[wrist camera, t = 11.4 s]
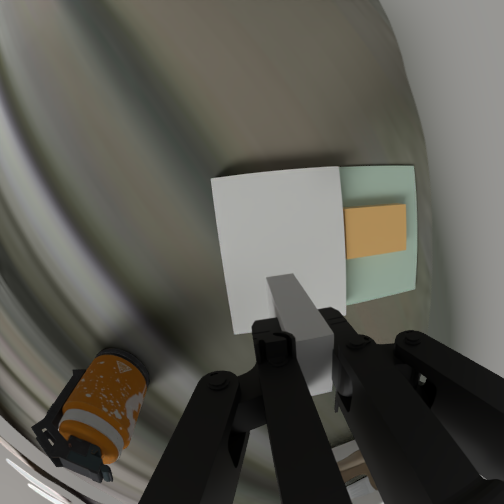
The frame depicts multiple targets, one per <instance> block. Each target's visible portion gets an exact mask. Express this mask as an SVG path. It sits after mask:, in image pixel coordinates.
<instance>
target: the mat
mask: <svg viewBox="0 0 504 504" xmlns="http://www.w3.org/2000/svg"><path fill="white" fill-rule="evenodd" d="M339 174H340V183H341V194H342V206H343V207H353V206H366V205H378V204H392V203H400V204H406V250H403V251H397V252H391V253H385V254H379V255H372V256H366V257H360V258H353V259H346V305H350V304H355V303H360V302H364V301H369V300H373V299H377V298H381V297H386V296H390V295H394V294H398V293H402V292H406V291H409V290H413V289H415V282H416V265H417V202H416V185H415V173H414V166H355V167H339Z"/></svg>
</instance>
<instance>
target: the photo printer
mask: <svg viewBox="0 0 504 504" xmlns="http://www.w3.org/2000/svg"><path fill="white" fill-rule="evenodd" d="M346 488H347V491H348V493H349V496H350V499H352V498H357V497H361V496H364V495H367V494H370V493H372V492H374V491H376V490H375V489H374V488H373V487H372V486H371V484H370V482H369V478H368V476H367V477H365V478H363V479H361V480H359V481H357V482H355V483H353V484H351V485H349V486H347V487H346Z"/></svg>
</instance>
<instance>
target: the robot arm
mask: <svg viewBox="0 0 504 504" xmlns="http://www.w3.org/2000/svg"><path fill="white" fill-rule="evenodd" d="M266 284H267V293H268V302H269V311H270V318H268V319H262V320H255V321H254V323H253V325H252V326H251V328H252V335H253V342H254V349H255V355H256V364H255V366H254V367H253V369H252V370H250V371H249V372H247V373H245V374H243V375H240V376H236V375H235V374H234V373H232V372H229V371H214V372H211V373H208V374H207V375H205V376H203V377H202V378H201V379H200V381H199V382H198V384H197V386H196V388H195V390H194V392H193V394H192V396H191V398H190V400H189V403H188V405H187V407H186V409H185V411H184V413H183V415H182V417H181V419H180V421H179V423H178V425H177V427H176V429H175V431H174V433H173V435H172V437H171V439H170V441H169V443H168V445H167V447H166V449H165V451H164V453H163V455H162V457H161V459H160V461H159V463H158V465H157V467H156V469H155V471H154V473H153V475H152V477H151V479H150V481H149V483H148V485H147V487H146V489H145V491H144V493H143V495H142V497H141V499H140V501H139V503H138V504H233V500H234V496H235V492H236V488H237V484H238V480H239V476H240V472H241V468H242V464H243V460H244V456H245V452H246V447H247V443H248V439H249V434H250V430H252V429H255V428H257V427H260V426H262V425H265V424H267V428H268V434H269V439H270V445H271V451H272V456H273V462H274V467H275V473H276V478H277V483H278V489H279V494H280V499H281V504H352V501H351V499H350V496H349V493H348V491H347V488H346V485H345V483H344V480H343V478H342V475H341V472H340V470H339V467H338V464H337V462H336V459H335V457H334V454H333V451H332V449H331V446H330V443H329V441H328V438H327V436H326V433H325V430H324V428H323V425H322V423H321V420H320V417H319V415H318V412H317V409H316V407H315V404H314V402H313V399H312V396H313V395H318V394H322V393H326V392H330V391H332V381H333V383H334V385H335V387H336V397H335V408H334V409H335V413H336V412H338V406H339V407H340V409H341V411H342V413H343V415H344V417H345V420H346V422H347V424H348V426H349V428H350V430H351V432H352V435H353V437H354V439H355V441H356V443H357V445H358V447H359V450H360V452H361V454H362V456H363V458H364V460H365V463H366V465H367V467H368V469H369V471H370V474H371V476H372V478H373V480H374V482H375V485H376V487H377V489H378V491H379V493H380V496H381V498H382V500H383V502H384V504H504V378H502V377H500V376H499V375H497V374H495V373H493V372H492V371H490V370H488V369H486V368H485V367H483V366H481V365H479V364H477V363H475V362H474V361H472V360H470V359H469V358H467V357H465V356H463V355H462V354H460V353H458V352H456V351H454V350H453V349H451V348H449V347H447V346H445V345H444V344H442V343H440V342H438V341H437V340H435V339H433V338H431V337H429V336H428V335H426V334H424V333H422V332H419V331H414V330H408V331H404V332H401V333H399V334H398V335H397V336H396V339H395V343H393V344H376V343H375V341H374V340H373V339H371V338H370V337H368V336H365V335H360V334H357V332H356V331H355V330H354V329H353V328H352V326H351V325H350V324H349V323H348V322H347V320H346V319H345V318H344V317H343V315H342V314H341V313H340V312H339V311H338V310H336V309H334V308H332V307H327V308H321V309H317V308H316V306H315V305H314V303H313V302H312V300H311V299H310V298H309V296H308V295H307V293H306V292H305V290H304V289H303V287H302V286H301V284H300V283H299V281H298V280H297V279H296V277H295V276H294V274H293V273H291V274H284V275H278V276H271V277H266ZM421 374H422V375H423V376H425V377H426V378H427V379H426V382H425V383H423V382H421V381H419V380H420V377H421ZM480 475H482V476H483V477H484V478H486V479H487V480H486V479H483V478H482V477H481V476H480Z"/></svg>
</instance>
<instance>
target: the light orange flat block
mask: <svg viewBox="0 0 504 504" xmlns="http://www.w3.org/2000/svg"><path fill="white" fill-rule="evenodd" d="M343 219H344V236H345V259H353V258H360V257H366V256H372V255H379V254H385V253H391V252H397V251H403V250H406V204H400V203H392V204H378V205H366V206H353V207H343Z"/></svg>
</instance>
